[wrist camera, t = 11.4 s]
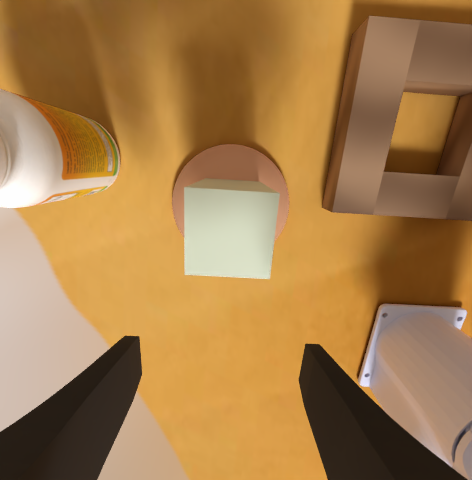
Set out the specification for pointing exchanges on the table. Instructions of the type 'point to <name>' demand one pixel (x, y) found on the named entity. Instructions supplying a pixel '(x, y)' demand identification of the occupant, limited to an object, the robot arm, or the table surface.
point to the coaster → (231, 176)
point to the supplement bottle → (51, 153)
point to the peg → (229, 228)
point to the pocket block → (385, 113)
